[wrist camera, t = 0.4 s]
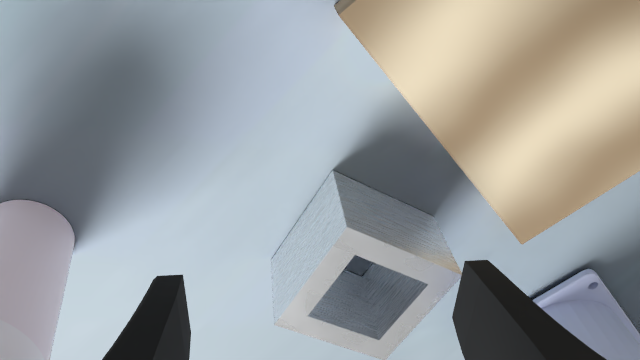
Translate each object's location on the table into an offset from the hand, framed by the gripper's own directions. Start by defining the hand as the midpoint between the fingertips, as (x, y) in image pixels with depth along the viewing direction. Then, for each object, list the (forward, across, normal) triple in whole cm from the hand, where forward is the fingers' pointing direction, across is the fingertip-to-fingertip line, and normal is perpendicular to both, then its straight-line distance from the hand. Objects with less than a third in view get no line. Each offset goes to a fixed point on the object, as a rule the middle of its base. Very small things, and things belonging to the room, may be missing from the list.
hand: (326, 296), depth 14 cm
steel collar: (+10, -2, +6) cm, 11 cm away
